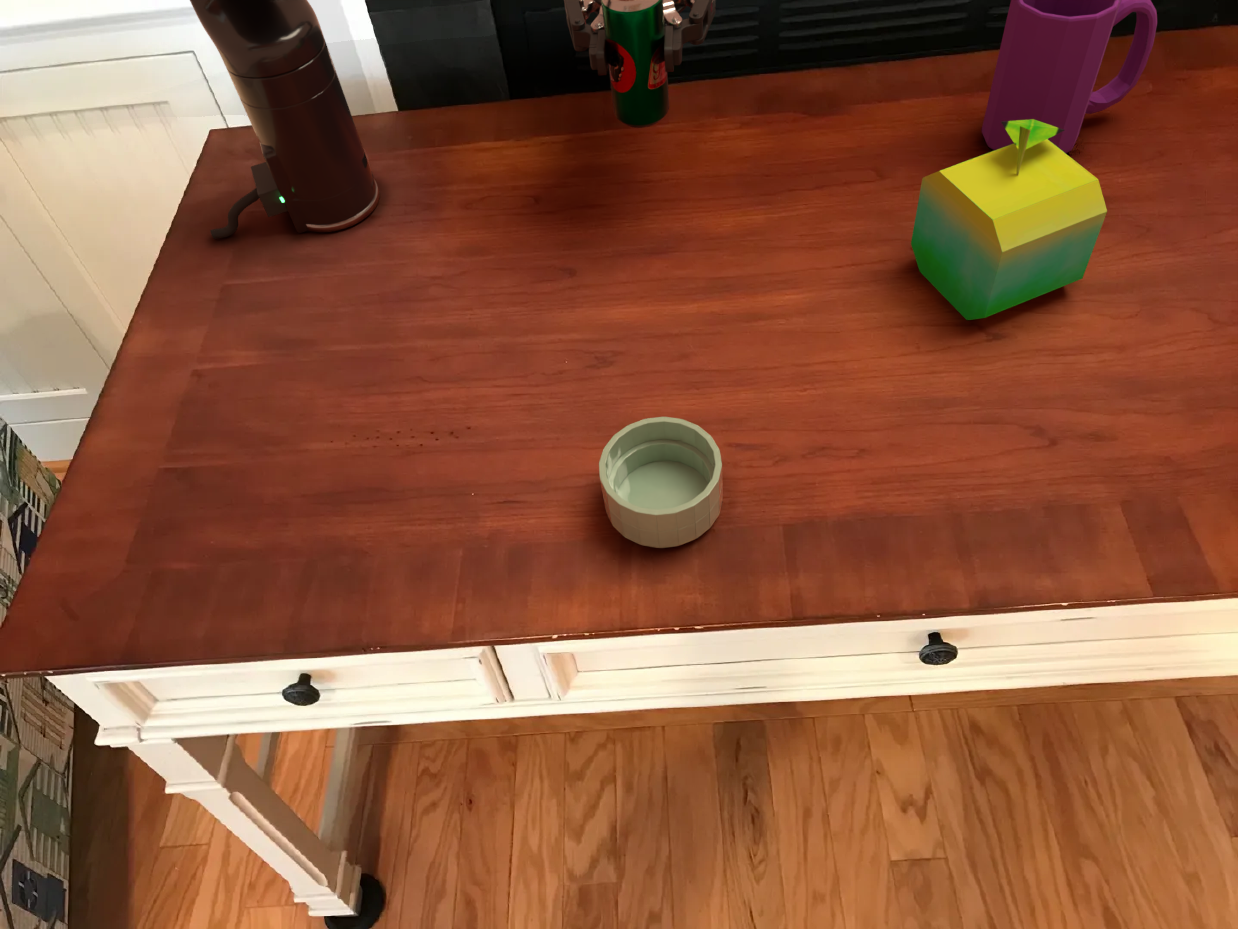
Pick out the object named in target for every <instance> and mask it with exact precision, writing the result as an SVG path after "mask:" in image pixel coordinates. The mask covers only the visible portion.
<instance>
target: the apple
mask: <svg viewBox="0 0 1238 929" xmlns="http://www.w3.org/2000/svg"><path fill="white" fill-rule="evenodd" d="M1001 123H1002V124H1003V126H1004V128H1005V129H1006V131H1007V132H1008V134H1009V136H1010V137H1011V139H1012V141H1013V142H1014V144H1011V145H1008V146H1005V147H1003V148H1000V149H997V150H995V151H994V150H992V151H988V152H986V153H984V154H981V155H979V156H976V157H972V158H969V159H968V160H967V159H966V160H965V161H962V162H959V163H957V164H954V165H952V166H949V167H946V168H943V169H940V170H938V171H935V172H933V173H931V174H928V175H926V176H924V177H922V179H921V184H920V189H919V196H918V201H917V207H916V212H915V218H914V222H913V229H912V234H911V235H912V236H911V241H910V246H911V248H912V249H911V250H912V252H913V256H914V258H915V261H916V264H917V267H918V272H919V273H921V275H922V276H923V277H924V278H925V279H926V280H927V281H928V282H929V283H930V284H931V285H932V286H933V287H934V288H935V289H936V290H937V292H939V294H940V295H941V296H943V297H944V298H945V299H946V300H947V302H949V304H950V305H951V306H952V307H953V308H954V309H955V310H956V311H957V312H958V313H959V314H960V315H961V316H962V317H963V318H964V319H965V320H966V321H972V320H979V319H986V318H988V317H991V316H993V315H995V314H998V313H1001V312H1003V311H1005V310H1009V309H1011V308H1013V307H1016V306H1018V305H1020V304H1024V303H1025V302H1028V301H1030V300H1033V299H1036V298H1038V297H1040V296H1043V295H1045V294H1048V293H1050V292H1053V291H1055V290H1058V289H1060V288H1063V287H1065V286H1068V285H1071V284H1073V283H1075V282H1078V281H1080V280H1082V279H1084V275H1085V273H1086V270H1087V268H1088V265H1089V262H1090V259H1091V257H1092V254H1093V251H1094V249H1095V246H1096V244H1097V241H1098V237H1099V235H1100V232H1101V229H1102V227H1103V225H1104V221H1105V219H1106V216H1107V215H1108V214H1107V213H1108V209H1107V205H1106V202H1105V198H1104V195H1103V190H1102V187H1101V184H1100V181H1099V178H1097V177H1096V176H1095V175H1093V173H1091V172H1090V171H1088V170H1087V169H1086V168H1085V167H1083V166H1082V165H1081V164H1079V163H1078V162H1077V161H1076V160H1074V158H1072V157H1070V156H1069V155H1068V154H1067V153H1064V152H1063V151H1062V150H1060V149H1059V148H1058V147H1057V146H1055V145H1054V144H1053V143H1052V142H1050V141H1049V140H1048V138H1050V137H1052V136H1054V135H1056V134H1058V133H1060V132H1062V131H1064V129H1061V128H1058V127H1055V126H1052V125H1049V124H1046V123H1043V122H1040V121H1037V120H1034V119H1030V120H1016V121H1002V122H1001Z"/></svg>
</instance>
